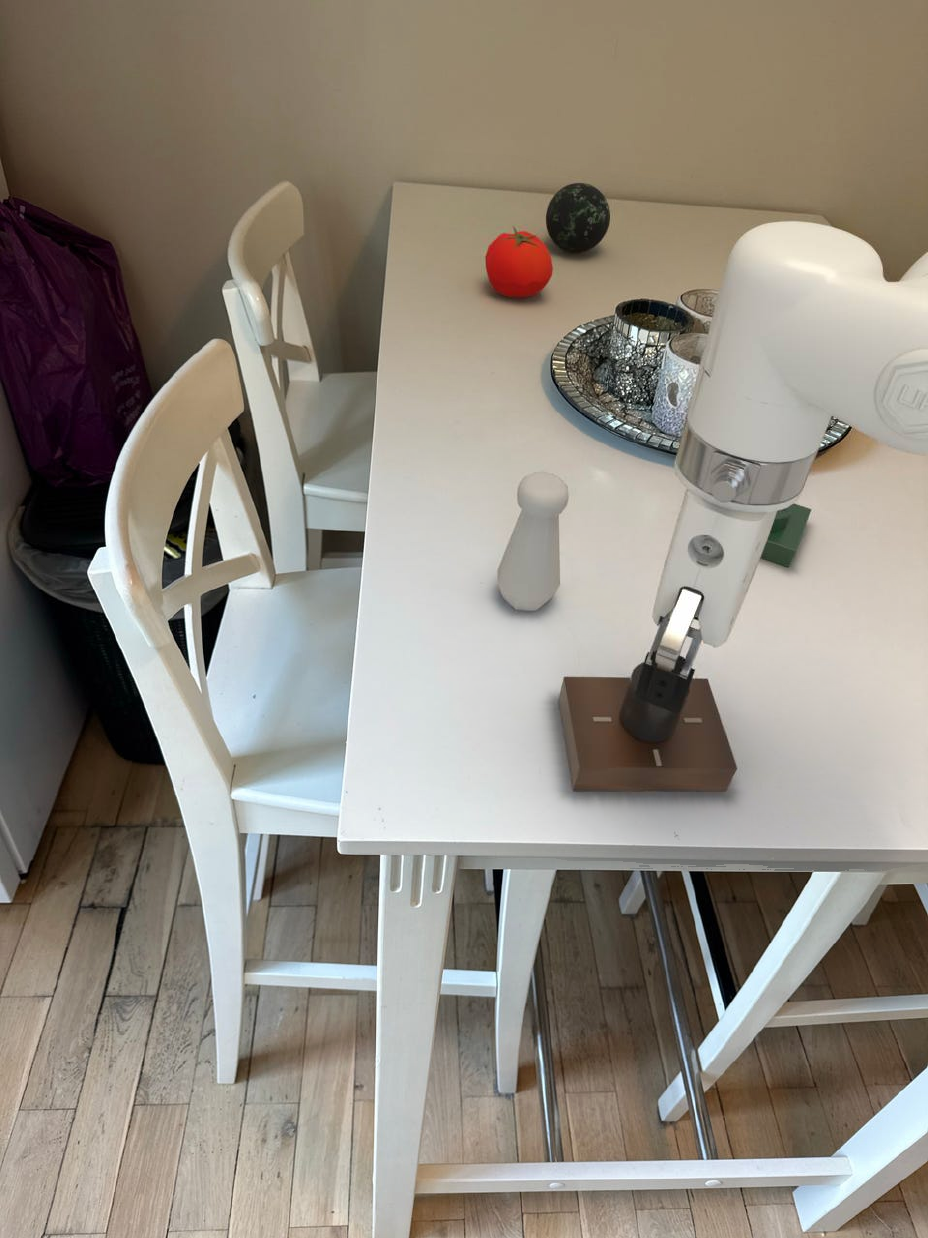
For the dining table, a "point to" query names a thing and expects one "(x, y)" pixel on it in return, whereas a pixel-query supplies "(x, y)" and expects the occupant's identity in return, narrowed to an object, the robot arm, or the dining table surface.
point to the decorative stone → (577, 217)
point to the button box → (786, 534)
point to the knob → (646, 715)
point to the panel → (642, 742)
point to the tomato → (518, 264)
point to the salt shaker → (534, 543)
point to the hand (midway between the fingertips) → (678, 658)
